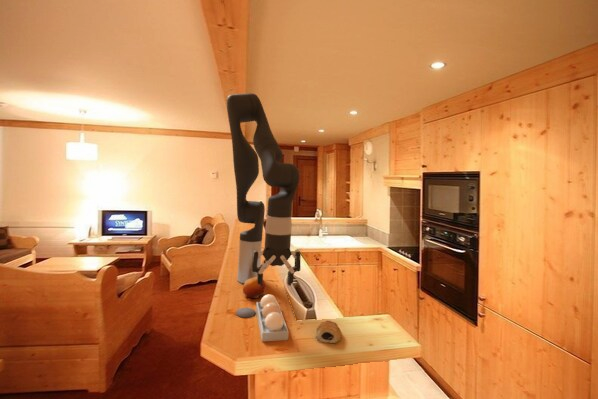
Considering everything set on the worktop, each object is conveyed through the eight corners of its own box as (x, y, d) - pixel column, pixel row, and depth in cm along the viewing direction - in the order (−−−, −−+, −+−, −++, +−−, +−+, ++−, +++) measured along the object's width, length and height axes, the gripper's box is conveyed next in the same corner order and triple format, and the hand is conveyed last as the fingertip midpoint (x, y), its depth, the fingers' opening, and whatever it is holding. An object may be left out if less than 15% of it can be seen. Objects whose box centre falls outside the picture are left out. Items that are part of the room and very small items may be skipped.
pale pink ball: (262, 325, 83) (263, 307, 82) (260, 316, 88) (262, 299, 87) (280, 324, 84) (281, 307, 84) (277, 316, 89) (279, 299, 89)
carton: (256, 309, 94) (256, 302, 94) (277, 308, 96) (277, 301, 96) (261, 341, 76) (262, 332, 76) (288, 339, 77) (288, 331, 77)
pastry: (319, 325, 87) (320, 313, 87) (341, 329, 86) (342, 317, 85) (314, 342, 78) (315, 328, 77) (339, 346, 76) (341, 332, 76)
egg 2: (263, 326, 82) (264, 309, 81) (281, 326, 83) (282, 308, 83) (265, 336, 77) (266, 317, 76) (284, 335, 78) (285, 316, 78)
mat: (235, 309, 93) (235, 308, 93) (254, 308, 95) (254, 307, 95) (236, 317, 88) (236, 316, 87) (255, 317, 89) (255, 315, 89)
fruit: (263, 298, 100) (254, 277, 101) (245, 306, 102) (236, 285, 103) (273, 290, 107) (264, 271, 108) (256, 298, 110) (247, 278, 111)
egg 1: (259, 307, 94) (260, 291, 94) (275, 307, 95) (276, 291, 95) (260, 314, 89) (261, 298, 89) (277, 314, 90) (278, 298, 90)
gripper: (255, 233, 79) (252, 290, 80) (305, 234, 83) (301, 289, 84) (252, 228, 86) (249, 281, 88) (298, 229, 90) (295, 279, 91)
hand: (275, 285), depth 86 cm, fingers open, 8 cm apart
